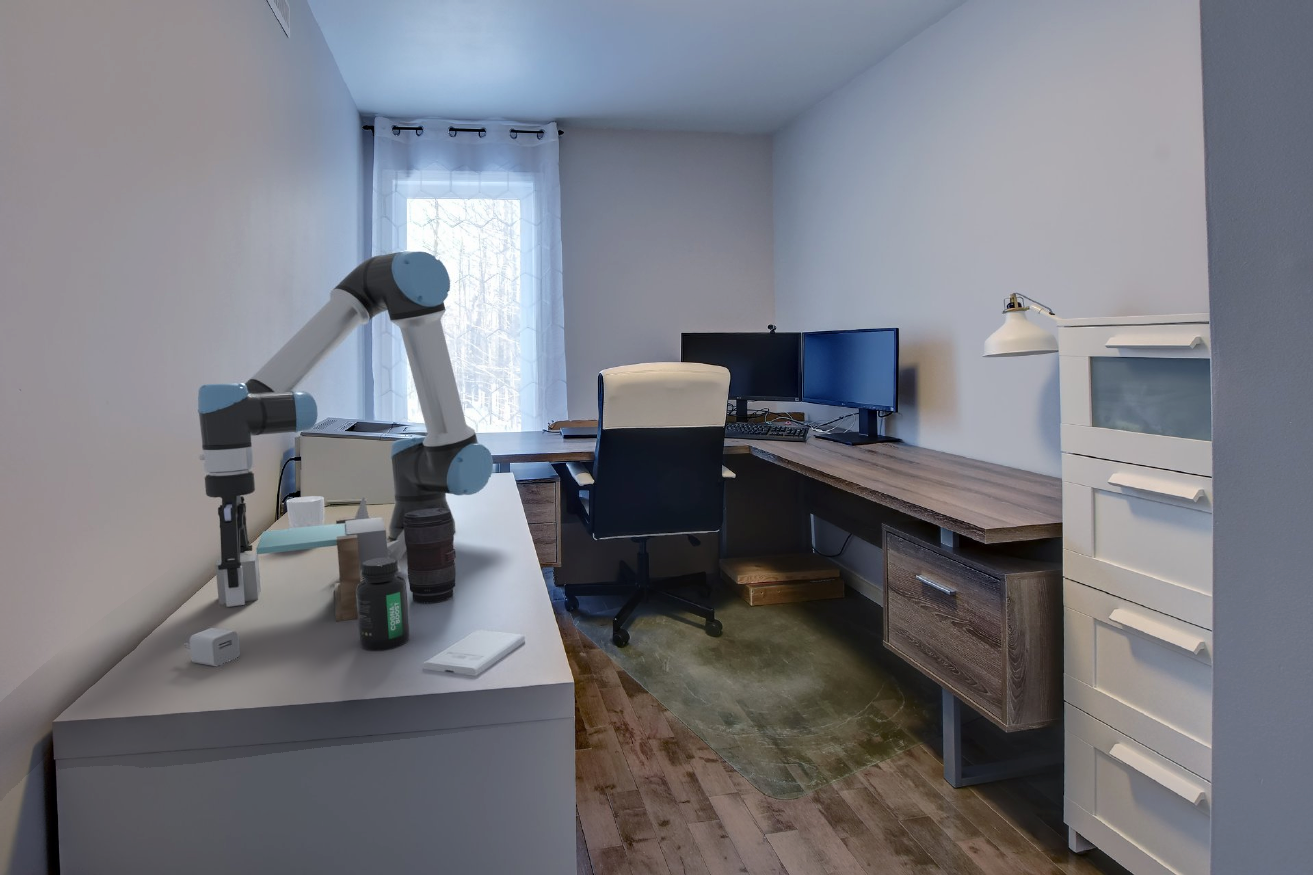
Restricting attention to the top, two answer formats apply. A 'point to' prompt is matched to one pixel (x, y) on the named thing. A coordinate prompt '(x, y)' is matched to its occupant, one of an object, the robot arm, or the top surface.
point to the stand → (347, 575)
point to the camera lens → (430, 554)
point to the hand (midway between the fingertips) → (239, 596)
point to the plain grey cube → (249, 578)
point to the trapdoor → (329, 538)
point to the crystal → (393, 548)
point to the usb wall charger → (213, 646)
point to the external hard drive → (474, 652)
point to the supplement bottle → (382, 605)
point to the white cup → (306, 511)
